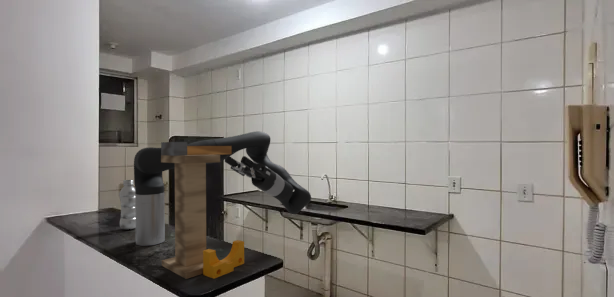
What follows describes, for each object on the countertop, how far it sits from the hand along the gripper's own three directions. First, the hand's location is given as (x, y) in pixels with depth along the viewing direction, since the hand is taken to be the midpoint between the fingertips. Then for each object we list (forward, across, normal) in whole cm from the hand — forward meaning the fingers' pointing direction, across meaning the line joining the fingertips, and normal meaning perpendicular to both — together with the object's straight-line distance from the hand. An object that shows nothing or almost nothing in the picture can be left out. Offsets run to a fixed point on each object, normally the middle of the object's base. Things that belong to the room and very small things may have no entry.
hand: (234, 158), depth 101 cm
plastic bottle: (-6, -59, +31) cm, 67 cm away
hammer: (+11, 0, +5) cm, 11 cm away
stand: (-2, 0, +33) cm, 33 cm away
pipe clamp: (-7, +9, +30) cm, 33 cm away
